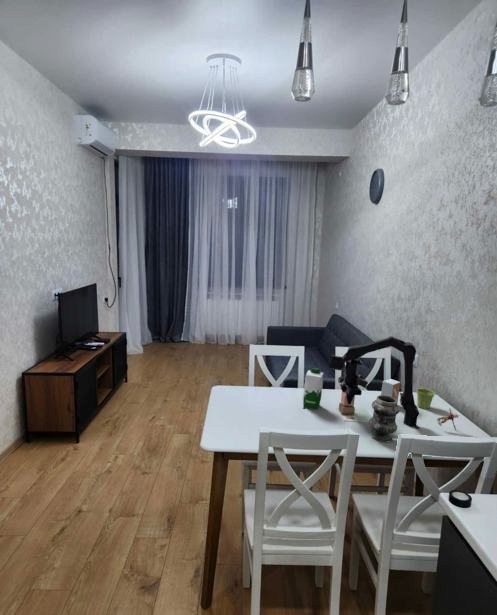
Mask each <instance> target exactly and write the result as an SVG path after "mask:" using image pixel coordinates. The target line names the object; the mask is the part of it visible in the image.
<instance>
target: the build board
mask: <svg viewBox="0 0 497 615" xmlns="http://www.w3.org/2000/svg"><path fill="white" fill-rule="evenodd" d="M334 408H335V410H336V411H337V413H338V415H339V416H340V418H341V419H342V420H343V422H345V423H346V422H347V423H349V422H351V423H353V422H354V423H369V420H370V419H371V418H372V417H373V415H371V413H370V412H369V411H368V410H367V409H366V408H356V407H355V412H354V416H350V415H342V414H341V413H340V411H339V407H334Z"/></svg>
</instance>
